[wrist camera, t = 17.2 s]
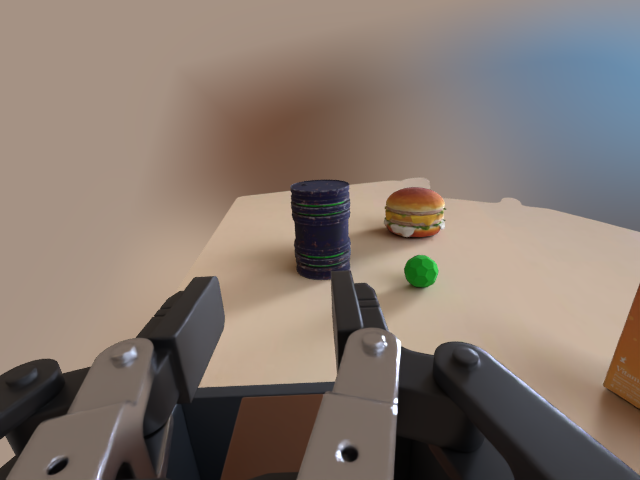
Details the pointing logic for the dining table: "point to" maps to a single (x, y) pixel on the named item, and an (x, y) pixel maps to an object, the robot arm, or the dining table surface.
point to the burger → (414, 212)
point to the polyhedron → (421, 271)
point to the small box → (627, 359)
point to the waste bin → (218, 424)
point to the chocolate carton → (270, 435)
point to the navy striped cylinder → (321, 227)
